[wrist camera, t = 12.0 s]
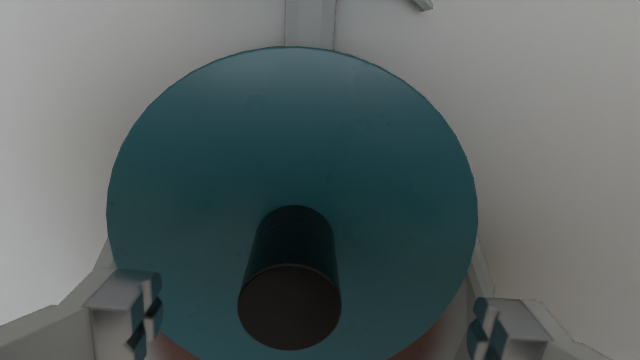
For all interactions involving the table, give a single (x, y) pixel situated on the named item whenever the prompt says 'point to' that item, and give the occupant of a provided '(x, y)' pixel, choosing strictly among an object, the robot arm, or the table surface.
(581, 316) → the table surface
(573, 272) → the table surface
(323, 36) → the frying pan
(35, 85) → the table surface
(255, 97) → the lid
